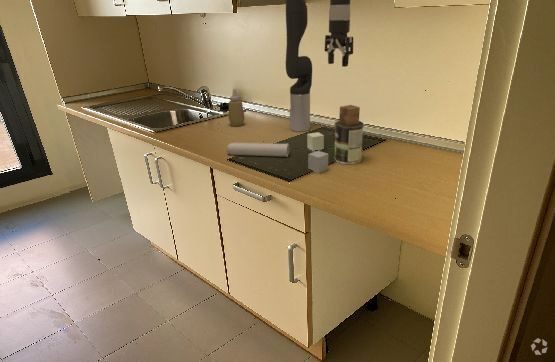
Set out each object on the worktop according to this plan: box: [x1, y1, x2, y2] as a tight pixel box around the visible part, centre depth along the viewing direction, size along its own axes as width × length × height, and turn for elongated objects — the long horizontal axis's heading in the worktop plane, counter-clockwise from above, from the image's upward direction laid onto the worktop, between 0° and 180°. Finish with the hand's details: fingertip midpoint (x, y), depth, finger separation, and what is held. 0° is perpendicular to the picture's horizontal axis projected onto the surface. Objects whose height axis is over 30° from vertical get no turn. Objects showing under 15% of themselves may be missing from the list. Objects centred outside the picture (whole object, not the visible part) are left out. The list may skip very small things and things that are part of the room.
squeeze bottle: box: [228, 88, 245, 127], centre depth 190 cm, size 8×8×18 cm
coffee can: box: [333, 120, 364, 165], centre depth 142 cm, size 10×10×14 cm
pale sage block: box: [306, 131, 325, 152], centre depth 156 cm, size 5×5×6 cm
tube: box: [226, 142, 290, 158], centre depth 152 cm, size 5×5×25 cm
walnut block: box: [338, 104, 361, 126], centre depth 138 cm, size 5×5×6 cm
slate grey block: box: [307, 150, 329, 174], centre depth 136 cm, size 5×5×6 cm
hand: (337, 65), depth 145 cm, fingers open, 8 cm apart
